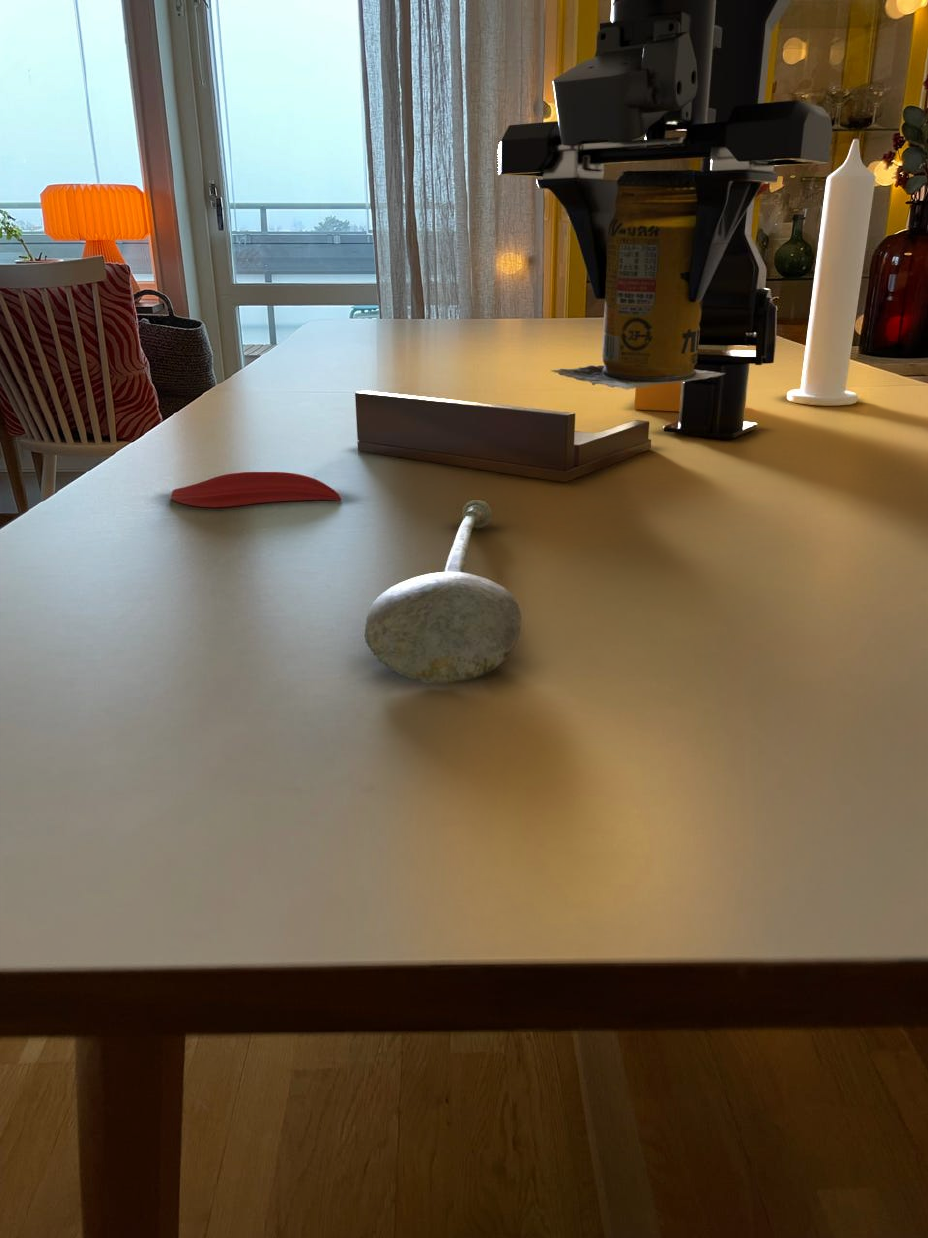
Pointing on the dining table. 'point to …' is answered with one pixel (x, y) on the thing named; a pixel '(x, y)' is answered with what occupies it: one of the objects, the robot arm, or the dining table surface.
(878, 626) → the dining table surface
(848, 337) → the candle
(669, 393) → the orange juice
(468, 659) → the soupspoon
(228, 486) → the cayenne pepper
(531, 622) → the dining table surface
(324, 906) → the dining table surface
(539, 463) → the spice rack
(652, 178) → the condiment
